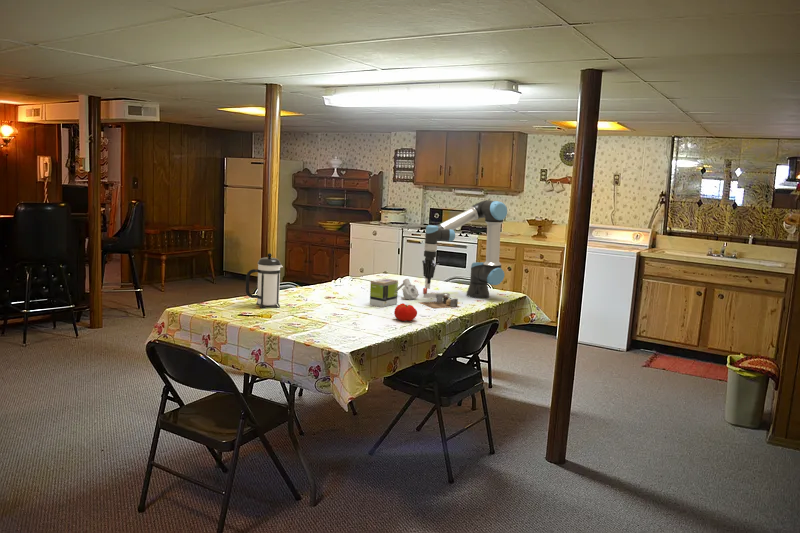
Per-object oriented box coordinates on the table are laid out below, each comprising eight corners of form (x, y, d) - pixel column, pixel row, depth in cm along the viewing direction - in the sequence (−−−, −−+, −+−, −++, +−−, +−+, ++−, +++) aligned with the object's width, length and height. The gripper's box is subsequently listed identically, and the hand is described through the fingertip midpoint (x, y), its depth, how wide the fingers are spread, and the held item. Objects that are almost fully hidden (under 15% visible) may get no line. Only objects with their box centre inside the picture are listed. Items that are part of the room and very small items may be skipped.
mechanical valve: (409, 297, 390) (401, 276, 397) (393, 311, 401) (385, 291, 408) (421, 297, 397) (413, 276, 403) (405, 310, 408) (397, 291, 415)
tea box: (384, 301, 386) (385, 277, 384) (397, 304, 381) (398, 280, 379) (369, 304, 374) (370, 280, 372) (382, 307, 369) (383, 282, 367)
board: (444, 302, 394) (445, 294, 393) (461, 308, 378) (462, 299, 377) (417, 304, 384) (418, 295, 383) (433, 310, 368) (434, 301, 367)
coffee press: (264, 302, 364) (265, 250, 360) (286, 305, 357) (288, 253, 353) (244, 306, 348) (245, 253, 344) (267, 310, 342) (269, 256, 337)
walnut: (449, 304, 382) (450, 298, 382) (453, 306, 379) (454, 299, 378) (444, 305, 380) (444, 298, 380) (448, 306, 377) (448, 299, 376)
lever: (447, 301, 388) (448, 287, 387) (450, 303, 383) (451, 289, 382) (421, 301, 384) (422, 287, 383) (423, 302, 379) (424, 289, 378)
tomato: (419, 322, 335) (420, 307, 334) (397, 323, 332) (398, 307, 330) (412, 317, 347) (413, 302, 346) (390, 317, 344) (391, 302, 342)
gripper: (419, 249, 388) (416, 286, 392) (430, 251, 377) (427, 290, 380) (429, 249, 392) (426, 286, 395) (441, 252, 381) (438, 290, 384)
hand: (427, 288), depth 388 cm, fingers closed
